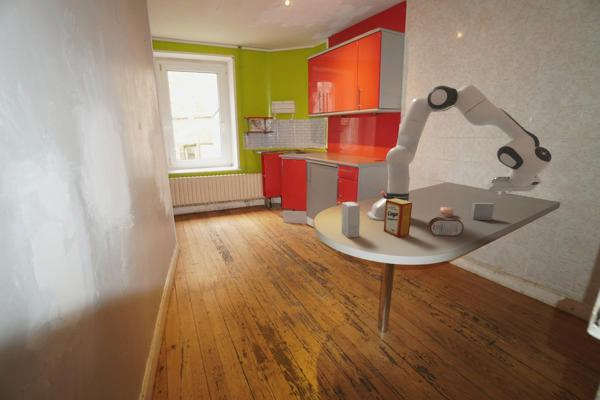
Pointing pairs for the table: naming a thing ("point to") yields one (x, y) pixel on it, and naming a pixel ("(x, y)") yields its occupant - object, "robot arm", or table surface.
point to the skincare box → (350, 219)
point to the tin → (445, 226)
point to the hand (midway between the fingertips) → (501, 194)
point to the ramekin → (446, 211)
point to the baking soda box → (397, 217)
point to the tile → (482, 211)
